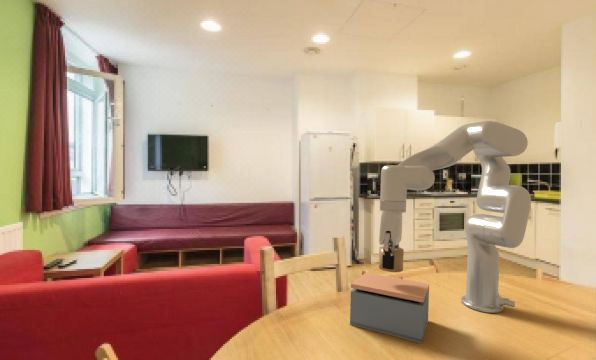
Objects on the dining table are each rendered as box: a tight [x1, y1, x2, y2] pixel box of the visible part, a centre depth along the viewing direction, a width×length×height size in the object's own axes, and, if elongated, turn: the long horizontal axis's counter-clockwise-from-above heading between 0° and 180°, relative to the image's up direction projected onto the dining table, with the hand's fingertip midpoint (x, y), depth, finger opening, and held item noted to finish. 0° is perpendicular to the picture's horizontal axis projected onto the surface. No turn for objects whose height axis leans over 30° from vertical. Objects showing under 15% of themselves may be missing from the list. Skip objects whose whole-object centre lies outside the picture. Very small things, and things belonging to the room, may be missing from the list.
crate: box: [349, 288, 430, 345], centre depth 93 cm, size 20×15×10 cm
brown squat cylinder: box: [378, 245, 404, 273], centre depth 93 cm, size 7×7×6 cm
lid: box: [350, 272, 430, 302], centre depth 93 cm, size 20×15×1 cm
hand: (390, 264), depth 93 cm, fingers closed on brown squat cylinder, 7 cm apart
